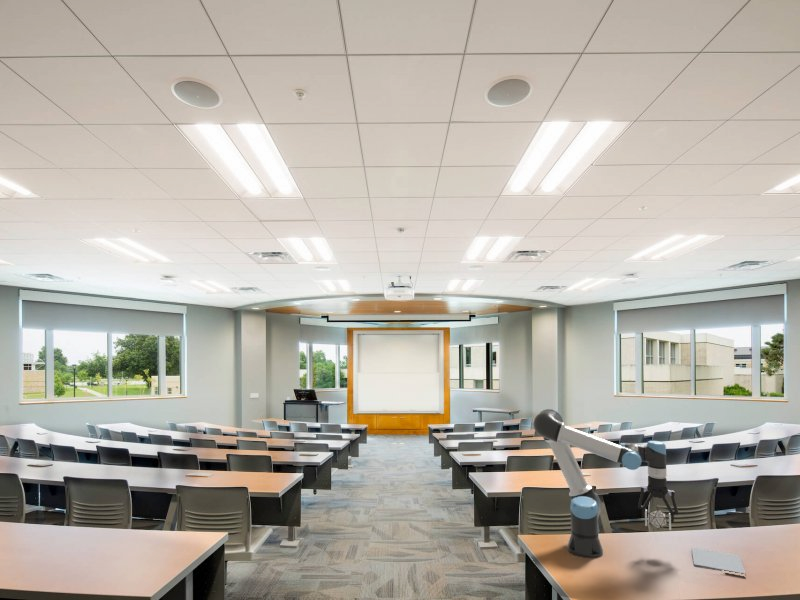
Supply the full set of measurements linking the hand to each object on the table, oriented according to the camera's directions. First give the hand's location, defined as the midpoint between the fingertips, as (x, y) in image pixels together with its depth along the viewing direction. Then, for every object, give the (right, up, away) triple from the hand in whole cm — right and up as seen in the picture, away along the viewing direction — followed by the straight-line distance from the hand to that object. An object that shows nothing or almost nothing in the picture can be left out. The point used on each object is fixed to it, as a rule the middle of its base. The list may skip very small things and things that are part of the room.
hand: (658, 526), depth 226 cm
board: (+20, -11, -11) cm, 25 cm away
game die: (0, -2, 0) cm, 2 cm away
